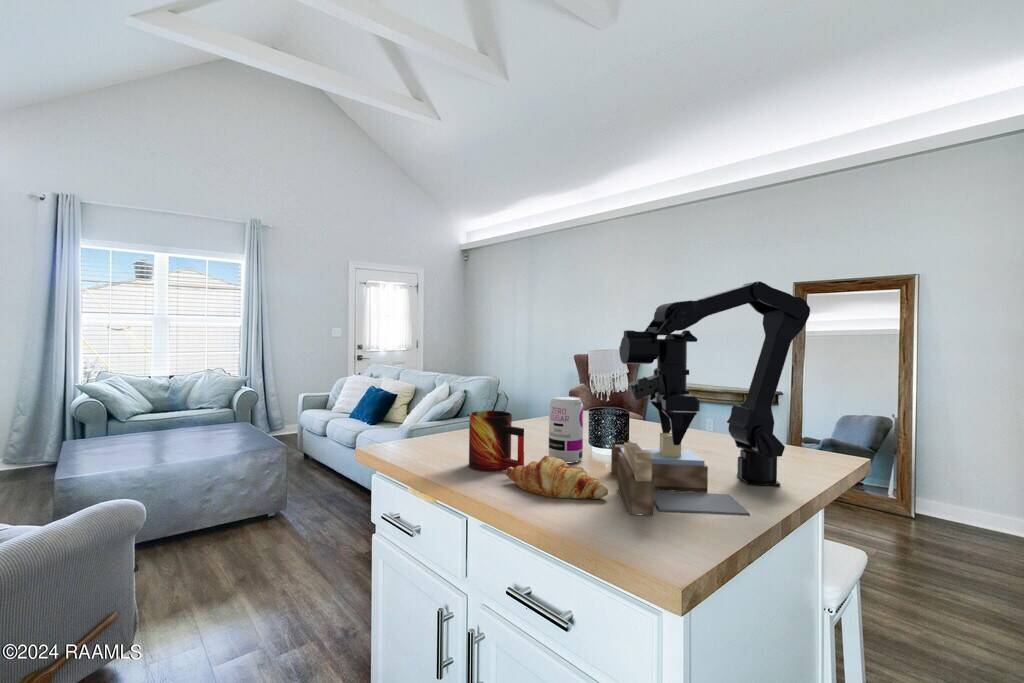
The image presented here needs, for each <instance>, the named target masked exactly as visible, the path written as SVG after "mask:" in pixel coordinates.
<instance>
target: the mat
mask: <svg viewBox="0 0 1024 683" xmlns="http://www.w3.org/2000/svg"><path fill="white" fill-rule="evenodd" d="M654 502H655V503H654V504H655V506H656V505H657V506H656V508H657V507H658V508H657V510H658V509H659V510H658V511H659V512H674V511H675V512H677V513H698V514H700V513H701V514H718V515H719V514H723V515H740V516H742V515H744V516H750V515H751V512H749V511H748V510H747V509H746V508H745V507H744V506H743V505H742V504H741V503H739V502H738V501H737V500H736V499H735V498H734V497H733V496H731V495H730V494H729V493H714V492H713V493H712V492H711V493H708V492H687V491H664V490H654ZM660 510H661V511H660Z"/></svg>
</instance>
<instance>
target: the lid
mask: <svg viewBox="0 0 1024 683" xmlns="http://www.w3.org/2000/svg"><path fill="white" fill-rule="evenodd" d="M640 448H641V447H640ZM641 450H650V452H651V453H652V464H668V465H695V466H704V464H705V460H704V459H703V458H702V457H701V456H700V455H699V454H697V453H696V452H694V451H693V449H682V442H681V443H680V445H674V444H673V439H672V433H671V432H670V433H663V432H659V448H649V447H648V448H647V447H646V448H643V447H642V448H641ZM620 453H622V455H623V457H624V448H620Z"/></svg>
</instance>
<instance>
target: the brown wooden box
mask: <svg viewBox="0 0 1024 683" xmlns="http://www.w3.org/2000/svg"><path fill="white" fill-rule="evenodd" d="M627 443H632V441H631V440H630V439H629V440H627ZM620 448H624V444H616V441H615V440H614V439H611V455H610V456H611V459H610V460H611V462H610V464H611V466H610V468H611V469H610V470H611V471H612V472H611V473H612V475H617V478H618V484H617V488H619V489H618V491H619V493H621V494H620V496H621V498H623V499H622V501H623V500H624V501H623V504H624V503H625V504H624V506H625V505H626V506H625V509H626V508H627V509H626V511H627V510H628V511H627V513H628V515H629V514H642V515H641V516H647V515H653V516H654V504H655V503H654V491H664V490H674V491H673V492H687V491H693V492H692V493H708V481H709V480H708V479H709V478H708V474H709V472H708V470H709V466H708V465H706V463H704V466H695V465H668V464H652V477H651V481H636V479H635V477H634V476H633V473H632V471H631V469H630V468H629V466H628V464H627V462H626V460H625V459H624V457H623V455H622V453H620ZM654 489H656V490H654Z"/></svg>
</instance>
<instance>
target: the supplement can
mask: <svg viewBox="0 0 1024 683" xmlns="http://www.w3.org/2000/svg"><path fill="white" fill-rule="evenodd" d="M548 409H549V411H548V412H549V414H548V415H549V416H548V456H549V457H555V458H558V459H561V460H563V461H565V462H576V461H579V460H580V461H581V460H582V459H583V455H584V454H583V452H584V451H583V449H584V448H583V446H584V445H583V442H584V436H583V435H584V431H583V430H584V404H583V401H582V399H581V397H577V396H568V395H567V396H565V395H564V396H563V395H562V396H561V395H560V396H553V397H551V400H550V402H549V405H548ZM580 461H579V462H580Z"/></svg>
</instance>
